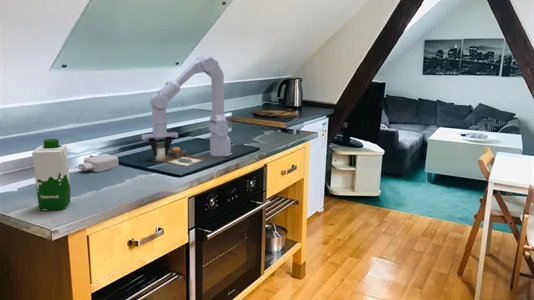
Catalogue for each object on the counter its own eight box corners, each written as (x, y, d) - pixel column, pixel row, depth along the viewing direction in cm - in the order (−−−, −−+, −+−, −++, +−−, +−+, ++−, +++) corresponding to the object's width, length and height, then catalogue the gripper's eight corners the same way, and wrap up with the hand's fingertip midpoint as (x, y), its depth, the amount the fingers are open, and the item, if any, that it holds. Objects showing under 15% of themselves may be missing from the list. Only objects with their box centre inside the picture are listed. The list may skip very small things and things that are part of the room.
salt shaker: (160, 157, 188) (159, 141, 186) (167, 159, 186) (167, 143, 184) (153, 160, 184) (152, 143, 182) (161, 161, 182) (160, 145, 181)
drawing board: (175, 154, 197) (175, 148, 196) (208, 160, 189) (208, 153, 188) (152, 162, 184) (151, 155, 183) (186, 168, 176) (186, 161, 175)
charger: (70, 172, 168) (105, 164, 180) (84, 176, 163) (118, 168, 175) (69, 160, 167) (104, 153, 179) (83, 164, 162) (118, 156, 174)
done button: (175, 151, 193) (175, 146, 193) (181, 152, 192) (181, 147, 191) (171, 152, 191) (171, 148, 190) (177, 153, 189) (176, 149, 189)
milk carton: (74, 200, 139) (68, 138, 134) (66, 210, 130) (60, 145, 125) (44, 201, 137) (37, 138, 132) (34, 212, 129) (27, 145, 124)
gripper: (174, 120, 188) (174, 151, 191) (139, 122, 181) (140, 154, 185) (178, 123, 182) (179, 155, 185) (143, 125, 175) (144, 158, 179)
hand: (160, 155), depth 185 cm, fingers closed on salt shaker, 4 cm apart
